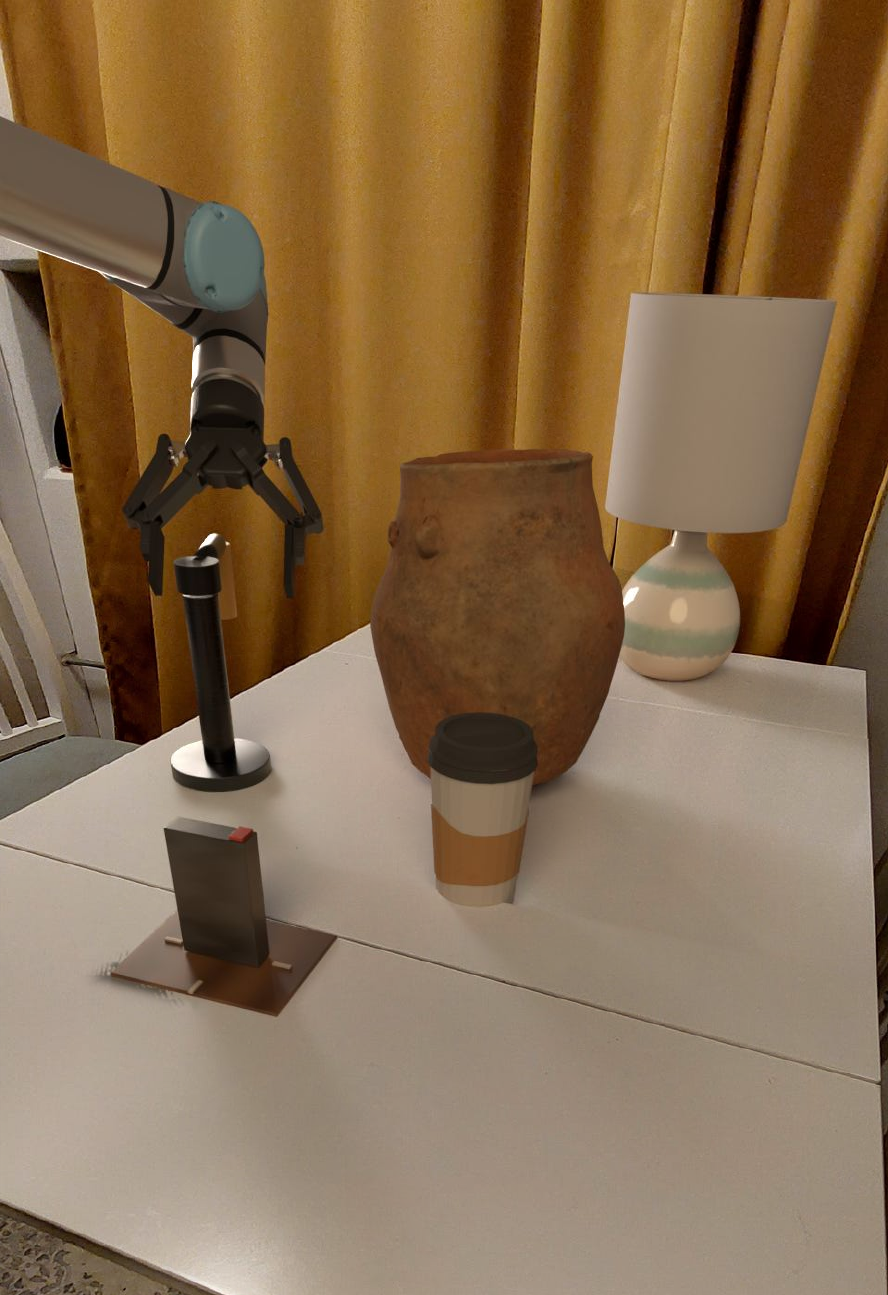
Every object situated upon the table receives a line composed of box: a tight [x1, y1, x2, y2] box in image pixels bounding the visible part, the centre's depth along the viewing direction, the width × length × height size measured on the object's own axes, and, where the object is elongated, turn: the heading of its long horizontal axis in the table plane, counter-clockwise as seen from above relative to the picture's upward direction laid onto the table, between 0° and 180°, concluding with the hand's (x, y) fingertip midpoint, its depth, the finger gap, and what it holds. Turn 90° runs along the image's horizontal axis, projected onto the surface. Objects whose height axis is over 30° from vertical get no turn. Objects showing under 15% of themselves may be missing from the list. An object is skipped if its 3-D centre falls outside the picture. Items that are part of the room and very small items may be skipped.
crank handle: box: [173, 533, 238, 621], centre depth 91 cm, size 14×4×8 cm, turn 1°
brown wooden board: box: [109, 909, 338, 1018], centre depth 69 cm, size 13×10×2 cm
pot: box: [369, 448, 625, 786], centre depth 89 cm, size 24×24×30 cm
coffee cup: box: [427, 712, 538, 908], centre depth 74 cm, size 8×8×15 cm
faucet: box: [169, 593, 272, 793], centre depth 92 cm, size 10×10×18 cm
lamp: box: [604, 292, 838, 682], centre depth 113 cm, size 22×22×40 cm
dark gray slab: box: [163, 816, 270, 968], centre depth 65 cm, size 6×2×10 cm, turn 71°
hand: (222, 590), depth 96 cm, fingers open, 13 cm apart
